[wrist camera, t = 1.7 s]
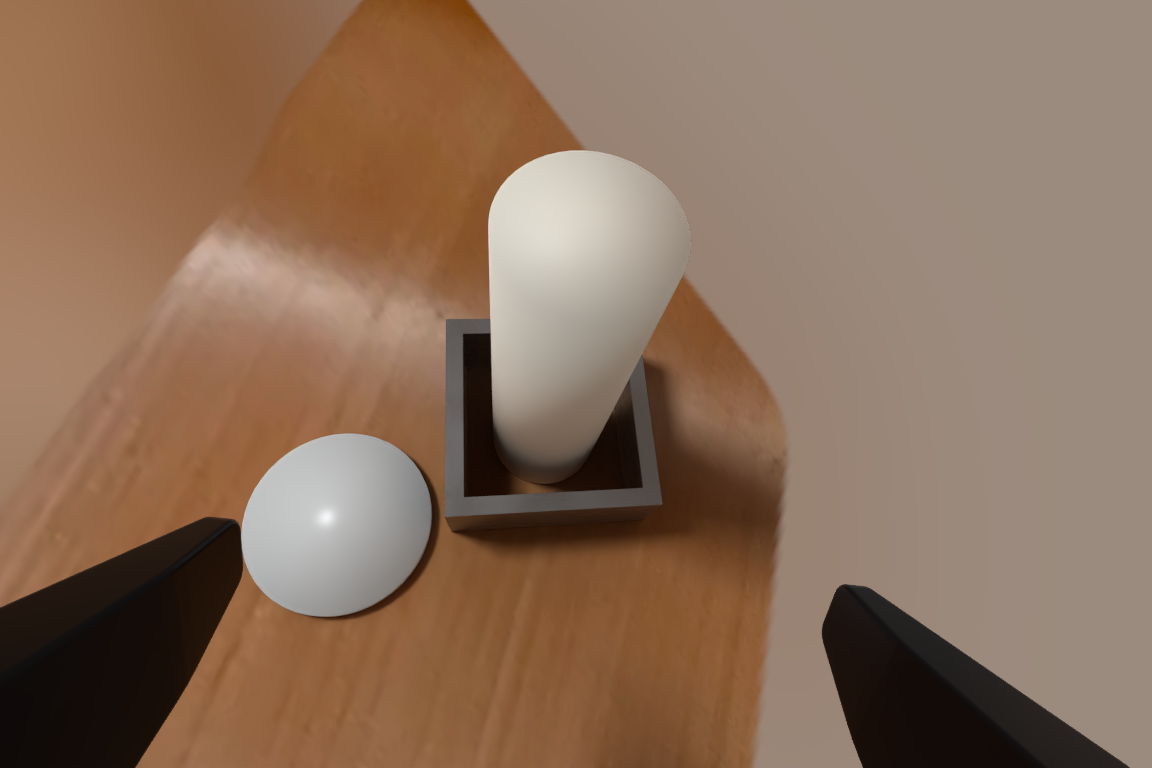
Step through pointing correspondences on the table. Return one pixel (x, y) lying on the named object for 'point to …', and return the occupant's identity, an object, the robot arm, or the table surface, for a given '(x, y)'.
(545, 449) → the cream peg
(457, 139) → the table surface
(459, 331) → the frame
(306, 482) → the white oval disc
